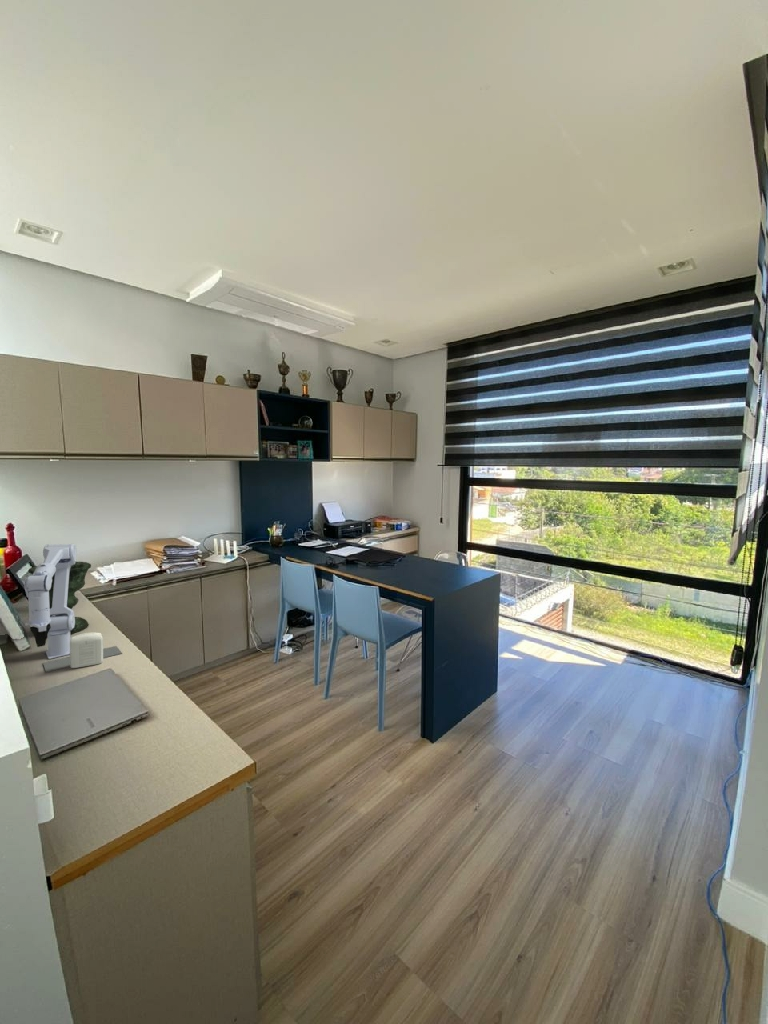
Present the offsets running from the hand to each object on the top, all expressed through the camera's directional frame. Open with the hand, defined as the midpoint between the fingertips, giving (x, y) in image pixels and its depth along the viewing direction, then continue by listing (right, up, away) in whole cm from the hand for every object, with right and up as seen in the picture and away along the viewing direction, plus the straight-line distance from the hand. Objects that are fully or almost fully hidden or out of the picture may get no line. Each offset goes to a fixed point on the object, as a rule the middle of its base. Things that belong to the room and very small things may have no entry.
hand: (41, 645), depth 150 cm
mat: (+5, -10, +14) cm, 18 cm away
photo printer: (+10, -10, +9) cm, 17 cm away
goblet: (-25, -7, +43) cm, 50 cm away
